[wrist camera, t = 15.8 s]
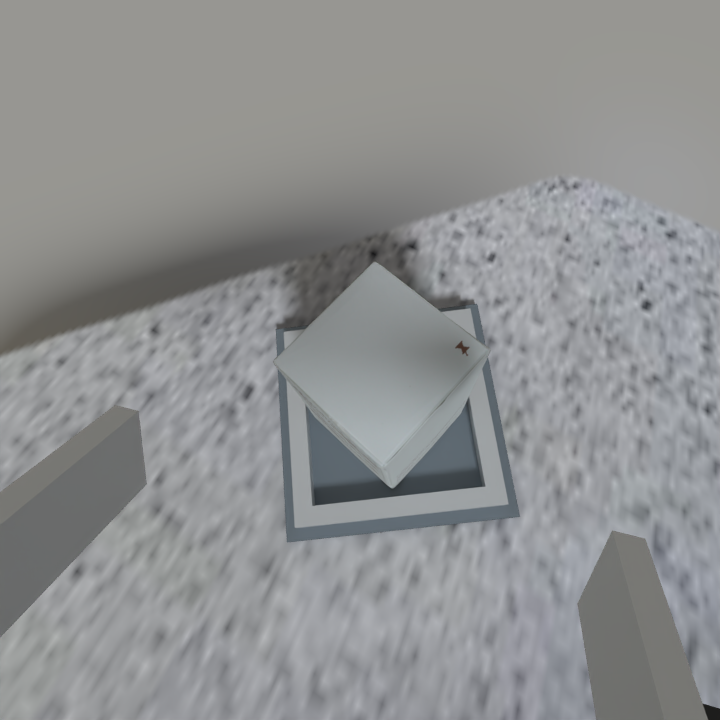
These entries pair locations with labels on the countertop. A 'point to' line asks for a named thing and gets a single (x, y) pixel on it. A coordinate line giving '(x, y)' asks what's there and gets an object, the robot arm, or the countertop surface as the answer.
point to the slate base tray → (418, 488)
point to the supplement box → (384, 372)
